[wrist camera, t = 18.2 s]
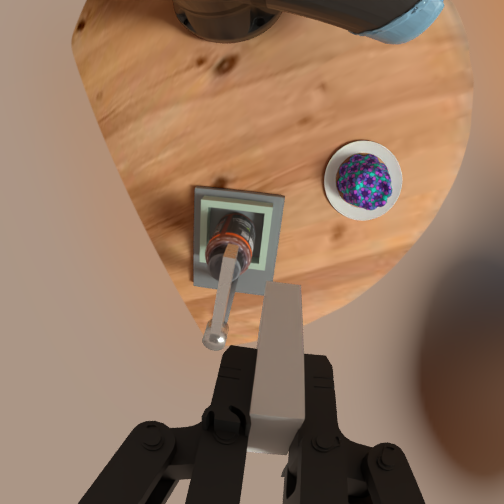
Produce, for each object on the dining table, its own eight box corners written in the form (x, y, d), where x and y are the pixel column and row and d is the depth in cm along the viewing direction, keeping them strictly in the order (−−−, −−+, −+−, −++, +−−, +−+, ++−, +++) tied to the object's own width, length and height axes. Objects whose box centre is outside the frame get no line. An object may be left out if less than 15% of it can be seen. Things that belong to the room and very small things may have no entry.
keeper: (227, 336, 39) (223, 352, 36) (206, 331, 39) (201, 347, 36) (246, 247, 33) (243, 260, 30) (220, 241, 33) (215, 254, 30)
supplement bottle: (213, 242, 47) (195, 282, 37) (221, 207, 44) (202, 240, 34) (251, 252, 47) (242, 295, 37) (260, 217, 44) (253, 253, 34)
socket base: (196, 186, 44) (165, 217, 32) (284, 195, 44) (285, 231, 32) (195, 282, 52) (172, 333, 40) (270, 293, 51) (265, 348, 40)
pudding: (411, 157, 39) (425, 164, 34) (383, 228, 44) (393, 242, 40) (338, 128, 39) (345, 131, 34) (312, 204, 44) (315, 217, 39)
